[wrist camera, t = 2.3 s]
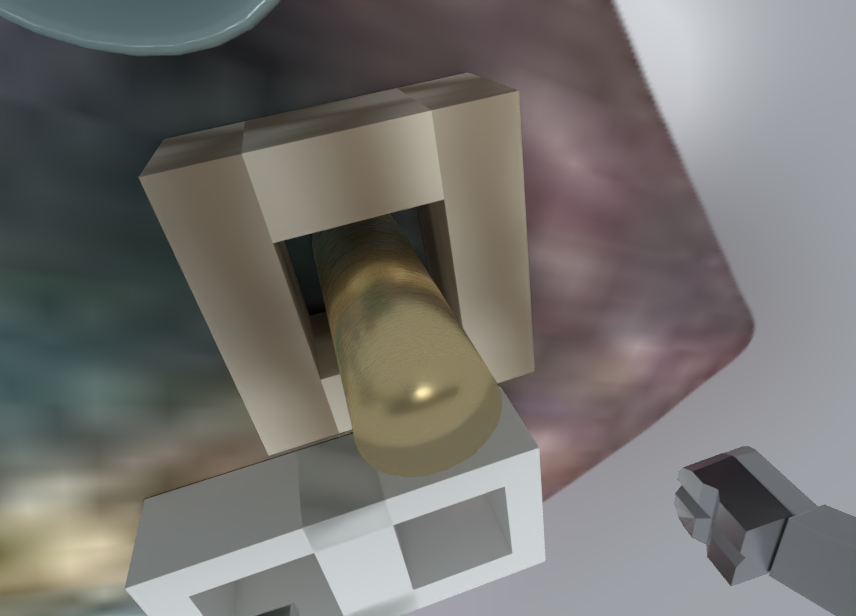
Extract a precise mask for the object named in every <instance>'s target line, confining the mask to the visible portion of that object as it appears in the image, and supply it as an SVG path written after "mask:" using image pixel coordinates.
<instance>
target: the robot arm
mask: <svg viewBox="0 0 856 616" xmlns="http://www.w3.org/2000/svg"><path fill="white" fill-rule="evenodd" d="M678 481H679V482H680V483H681V485H682V486H681V487H680V488H679V489H678V491H677V492H676V493H675V501H674V504H675V508H676V511H677V514H678V517H679V519H680V521H681V522H682V524H683V526H684V527H685V529H686V530H687V531H688V533H689V534H690V535H691V537H692V538H694V539H696V540H698V541H700V542H702V543H704V544H706V546H707V557H708V558H709V560H710V561H711V562H712V563H713V564H714V566H715V567H716V568H717V569H718V571H719V572H720V573H721V575H722V576H723V577H724V578H725V579H726V581H727V582H728V583H729V585H730V586H733V585H736V584H739V583H742V582H745V581H747V580H751V579H753V578H756V577H759V576H762V575H765V574H767V573H770V574H769V576H771V577H772V578H774V579H776V580H777V581H779V582H780V583H782V584H784V585H785V586H787V587H789V588H790V589H792V590H794V591H795V592H797V593H799V594H800V595H802V596H804V597H806V598H807V599H809V600H810V601H812V602H814V603H815V604H817V605H819V606H820V607H822V608H824V609H825V610H827V611H829V612H831V613H832V614H834V615H836V616H856V517H854V516H851V515H849V514H847V513H844V512H842V511H839V510H837V509H834V508H832V507H829V506H827V505H822V506H819V507H818V506H817V505H816V504H815V503H813V502H812V501H811V500H810V499H809V498H808V497H807V496H806V495H805V494H804V493H803V492H801V491H800V490H799V489H798V488H797V487H796V486H795V485H794V484H792V482H790V481H789V480H788V479H787V478H786V477H785V476H784V475H783V474H782V473H781V472H780V471H778V470H777V469H776V468H775V467H774V466H773V465H772V464H771V463H769V461H767V460H766V459H765V458H764V457H763V456H762V455H761V454H760V453H759V452H757V451H756V450H755V449H753V448H751V447H749V446H743V447H740V448H737V449H734V450H731V451H729V452H726V453H722V454H719V455H716V456H713V457H711V458H708V459H705V460H702V461H700V462H697V463H695V464H692V465H689V466H686V467H683V468H682V469H681V470H680V471H679V473H678ZM255 616H300V614H299V610H298V608H297V606H296V605H295V603H294V602H293V603H290V604H287V605H284V606H281V607H278V608H275V609H272V610H269V611H267V612H264V613H261V614H258V615H255Z"/></svg>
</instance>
